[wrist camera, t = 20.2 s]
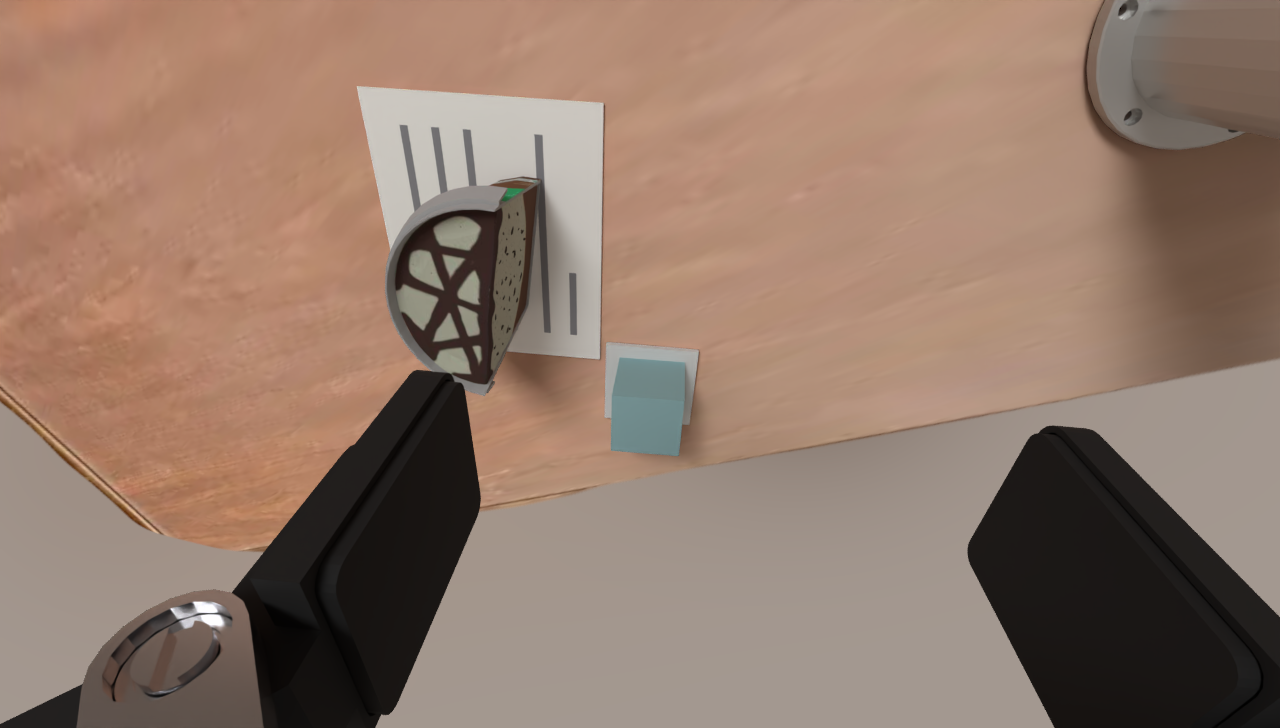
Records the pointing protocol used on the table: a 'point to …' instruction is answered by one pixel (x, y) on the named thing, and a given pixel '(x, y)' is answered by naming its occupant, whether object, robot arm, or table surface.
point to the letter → (496, 150)
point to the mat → (651, 353)
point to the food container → (465, 277)
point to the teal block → (648, 406)
